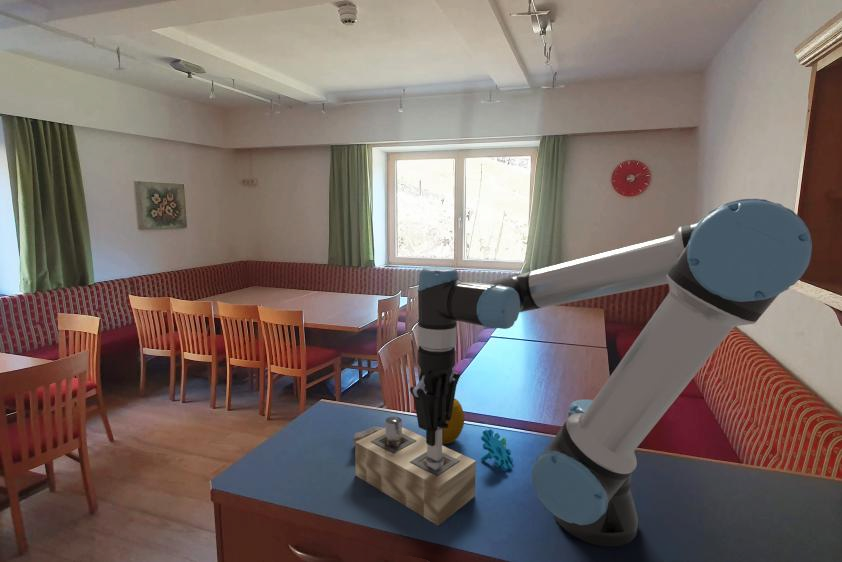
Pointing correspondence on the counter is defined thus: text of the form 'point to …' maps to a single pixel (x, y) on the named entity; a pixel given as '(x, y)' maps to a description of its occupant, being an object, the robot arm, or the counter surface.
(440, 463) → the steel peg near
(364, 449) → the socket block
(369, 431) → the stone
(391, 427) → the steel peg far
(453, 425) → the apple
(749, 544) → the counter surface
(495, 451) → the teal knobby branched piece
